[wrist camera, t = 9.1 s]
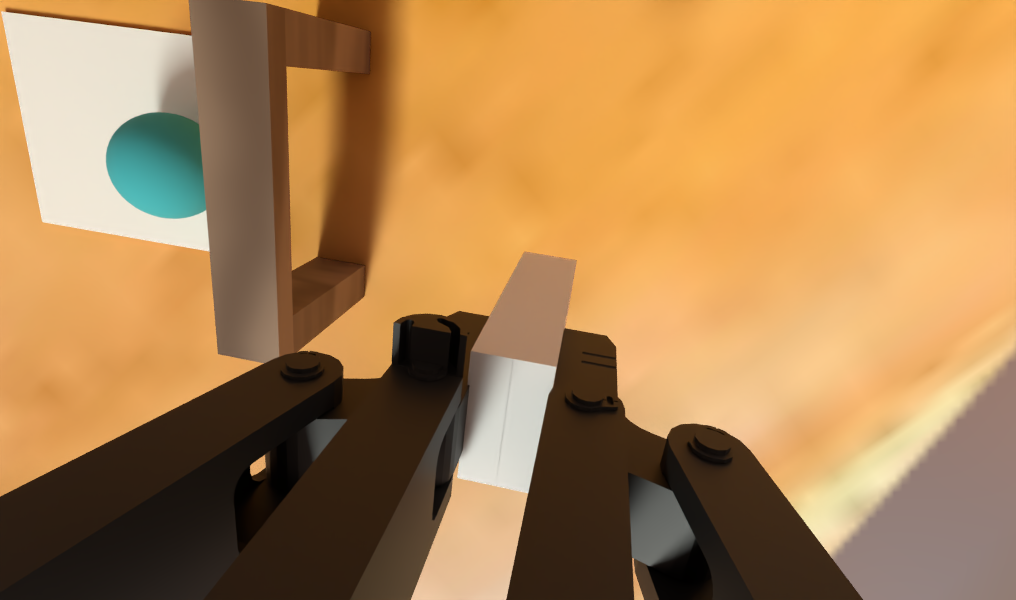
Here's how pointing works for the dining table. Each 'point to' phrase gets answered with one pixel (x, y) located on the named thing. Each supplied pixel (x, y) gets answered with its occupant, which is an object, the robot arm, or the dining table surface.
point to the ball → (158, 165)
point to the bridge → (263, 173)
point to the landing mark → (97, 116)
